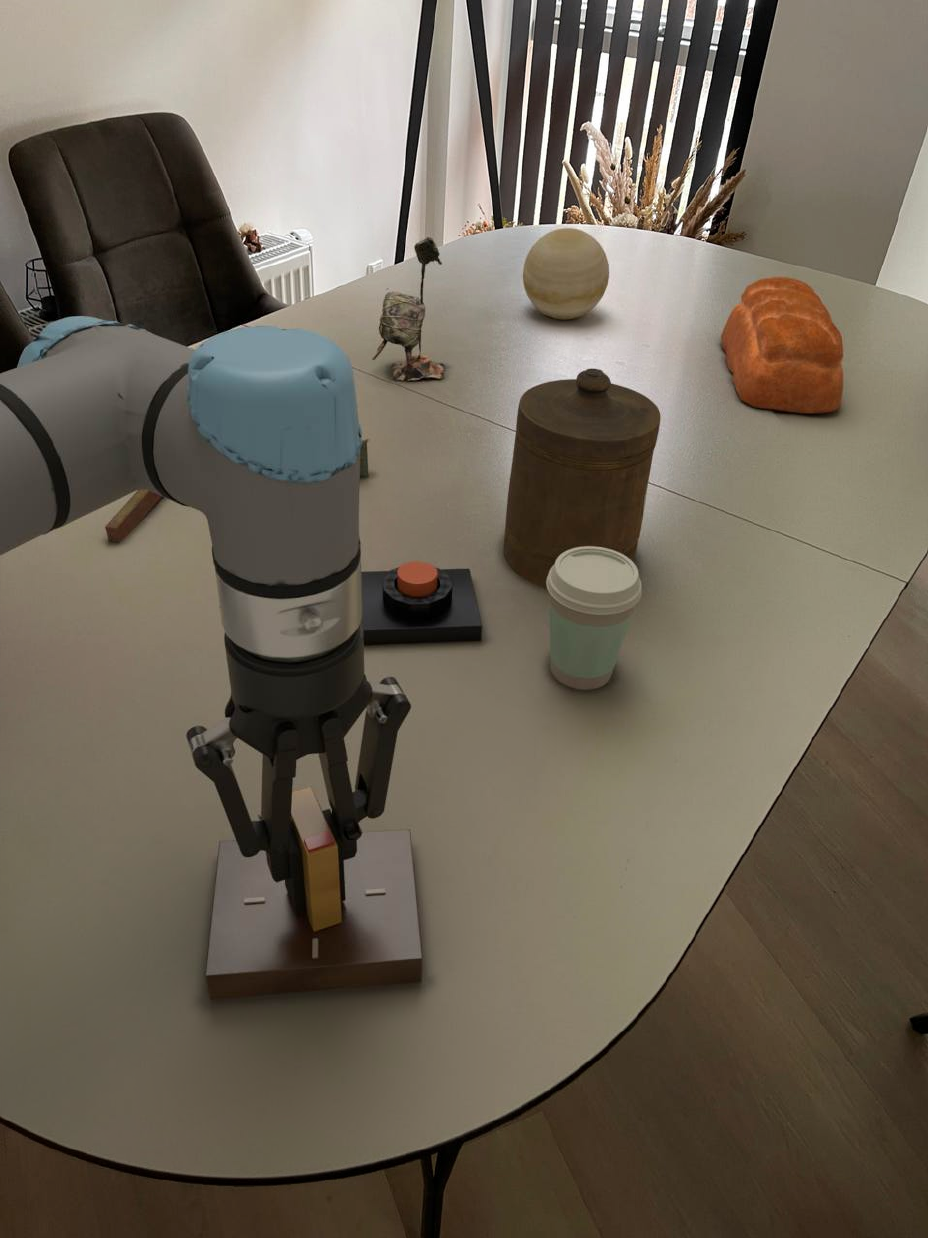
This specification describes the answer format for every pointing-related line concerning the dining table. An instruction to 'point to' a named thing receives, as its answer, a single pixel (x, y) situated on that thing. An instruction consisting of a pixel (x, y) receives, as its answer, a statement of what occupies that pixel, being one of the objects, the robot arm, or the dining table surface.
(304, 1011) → the dining table surface
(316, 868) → the lock knob
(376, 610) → the button block
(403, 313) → the bird figurine
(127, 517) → the miniature gate
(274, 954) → the plate
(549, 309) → the decorative ball
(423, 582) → the bell button
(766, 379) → the bread
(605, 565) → the coffee cup
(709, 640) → the dining table surface
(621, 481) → the wooden container
